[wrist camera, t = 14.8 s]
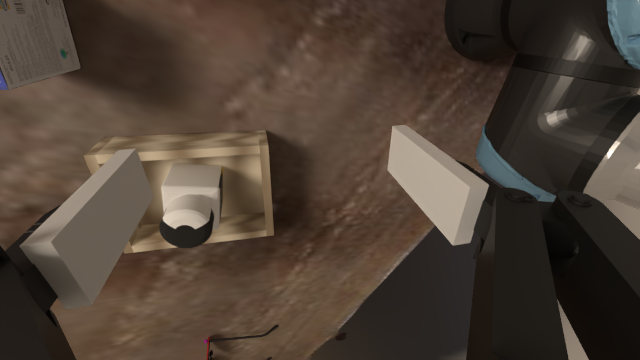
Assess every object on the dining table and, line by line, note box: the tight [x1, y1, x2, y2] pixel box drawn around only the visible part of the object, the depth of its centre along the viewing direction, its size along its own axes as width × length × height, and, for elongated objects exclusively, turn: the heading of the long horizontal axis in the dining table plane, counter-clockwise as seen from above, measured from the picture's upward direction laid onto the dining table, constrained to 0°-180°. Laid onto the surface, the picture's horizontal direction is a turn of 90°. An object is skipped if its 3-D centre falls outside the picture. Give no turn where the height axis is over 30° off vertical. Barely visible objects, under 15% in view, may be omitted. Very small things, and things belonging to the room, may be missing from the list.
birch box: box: [84, 130, 274, 253], centre depth 43 cm, size 22×16×6 cm
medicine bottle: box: [159, 163, 223, 248], centre depth 39 cm, size 7×7×12 cm
